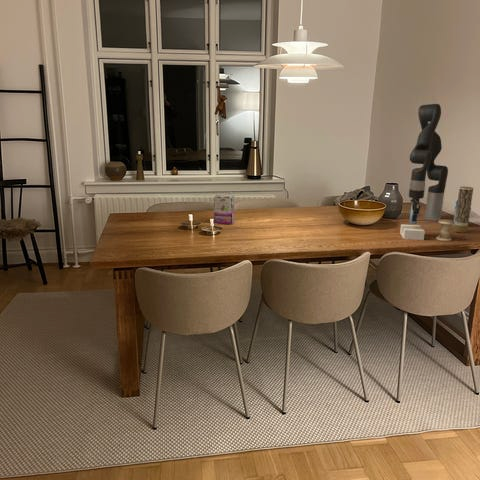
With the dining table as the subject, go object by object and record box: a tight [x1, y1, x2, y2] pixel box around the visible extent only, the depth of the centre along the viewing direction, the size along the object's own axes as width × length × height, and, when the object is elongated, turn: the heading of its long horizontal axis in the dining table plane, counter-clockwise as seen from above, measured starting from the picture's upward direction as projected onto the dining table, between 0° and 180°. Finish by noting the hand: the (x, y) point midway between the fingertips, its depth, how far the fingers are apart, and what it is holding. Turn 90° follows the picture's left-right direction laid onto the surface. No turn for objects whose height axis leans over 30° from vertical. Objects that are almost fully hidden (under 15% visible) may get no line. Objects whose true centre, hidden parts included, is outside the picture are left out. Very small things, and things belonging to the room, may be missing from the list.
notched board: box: [399, 224, 426, 241], centre depth 254 cm, size 12×10×5 cm
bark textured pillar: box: [453, 186, 474, 234], centre depth 261 cm, size 7×7×25 cm
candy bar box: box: [213, 194, 235, 225], centre depth 277 cm, size 11×5×16 cm, turn 76°
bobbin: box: [435, 218, 454, 242], centre depth 249 cm, size 8×8×10 cm
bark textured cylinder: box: [452, 193, 472, 226], centre depth 275 cm, size 8×8×20 cm
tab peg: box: [408, 206, 418, 225], centre depth 252 cm, size 4×4×9 cm
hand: (413, 220), depth 252 cm, fingers closed on tab peg, 3 cm apart
